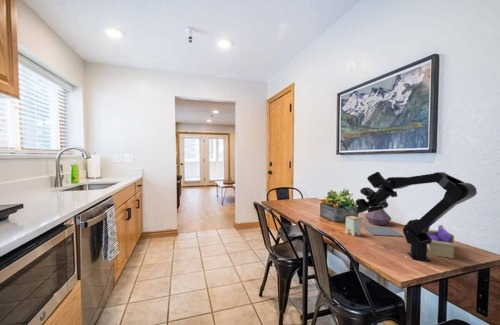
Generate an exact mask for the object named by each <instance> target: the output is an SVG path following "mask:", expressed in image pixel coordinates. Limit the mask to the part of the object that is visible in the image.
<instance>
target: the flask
mask: <svg viewBox="0 0 500 325" xmlns="http://www.w3.org/2000/svg"><path fill="white" fill-rule="evenodd" d="M364 217H365V219H366V220H368V222H369V224H372V225H375V224H376V225H375V226H386V225H387V224H388V223H389V222H391V221H392V217H391V216H390V215H389V214H388V213H387V212H386V211H385V208H384V209H381V210H377V211H373V212H368V211H367V212H365V214H364Z"/></svg>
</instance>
